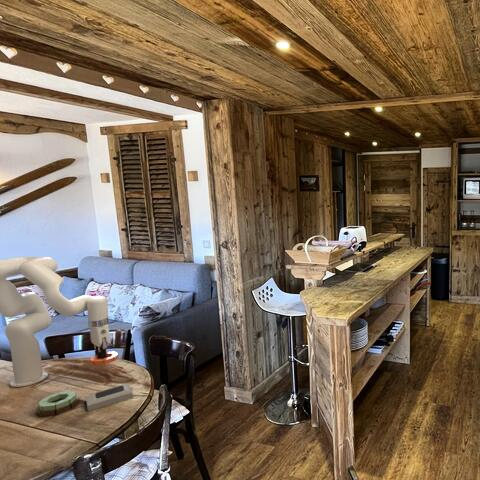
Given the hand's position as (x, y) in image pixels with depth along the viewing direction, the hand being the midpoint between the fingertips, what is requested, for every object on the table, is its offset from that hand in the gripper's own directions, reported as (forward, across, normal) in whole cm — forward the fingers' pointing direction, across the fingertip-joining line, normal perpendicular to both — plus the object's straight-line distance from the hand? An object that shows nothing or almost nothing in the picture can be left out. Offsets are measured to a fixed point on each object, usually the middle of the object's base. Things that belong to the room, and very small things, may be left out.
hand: (101, 357), depth 173 cm
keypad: (+10, -25, +6) cm, 28 cm away
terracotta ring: (0, -4, 0) cm, 4 cm away
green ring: (+8, -14, +20) cm, 26 cm away
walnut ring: (+11, -14, +20) cm, 27 cm away
